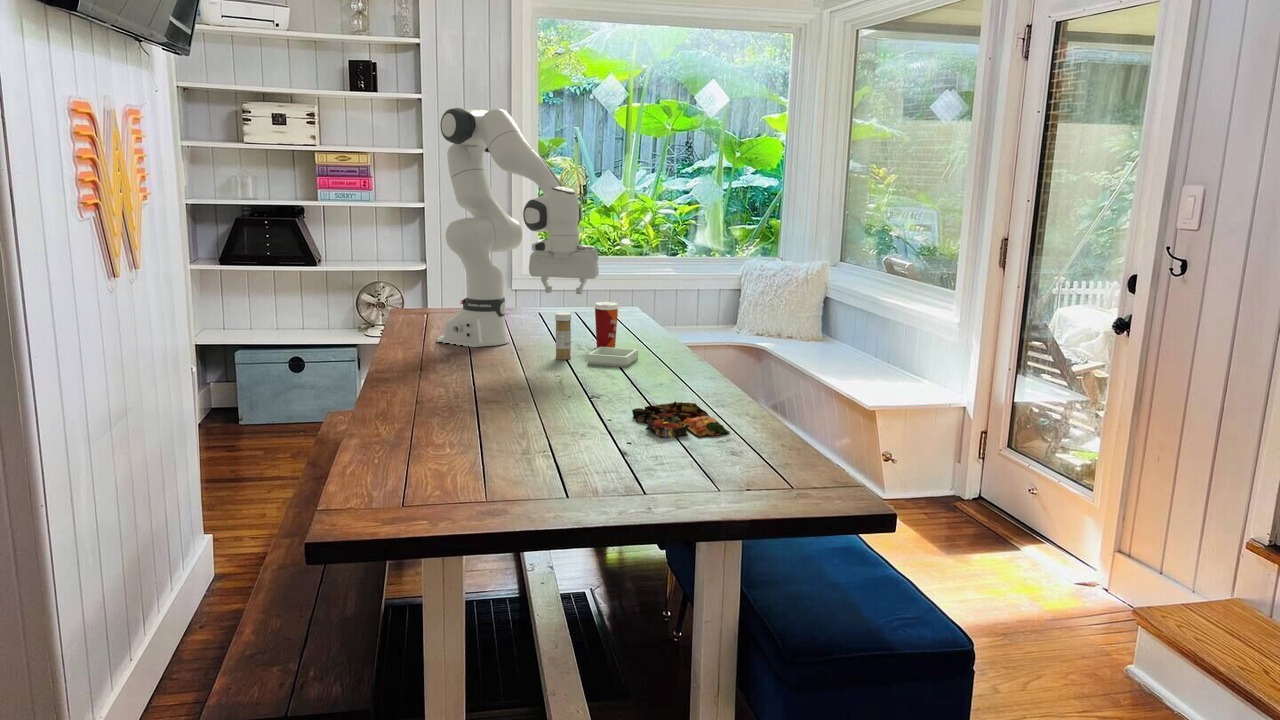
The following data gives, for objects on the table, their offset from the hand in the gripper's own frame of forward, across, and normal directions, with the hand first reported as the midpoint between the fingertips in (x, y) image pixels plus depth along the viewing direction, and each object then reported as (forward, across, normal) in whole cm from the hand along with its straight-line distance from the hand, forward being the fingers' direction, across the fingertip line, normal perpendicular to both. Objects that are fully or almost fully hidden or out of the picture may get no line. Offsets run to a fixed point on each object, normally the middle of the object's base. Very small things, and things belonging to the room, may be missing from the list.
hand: (563, 293), depth 265 cm
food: (+21, -47, +55) cm, 76 cm away
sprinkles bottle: (+20, 0, 0) cm, 20 cm away
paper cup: (+19, -6, -19) cm, 28 cm away
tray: (+20, -14, -1) cm, 24 cm away
